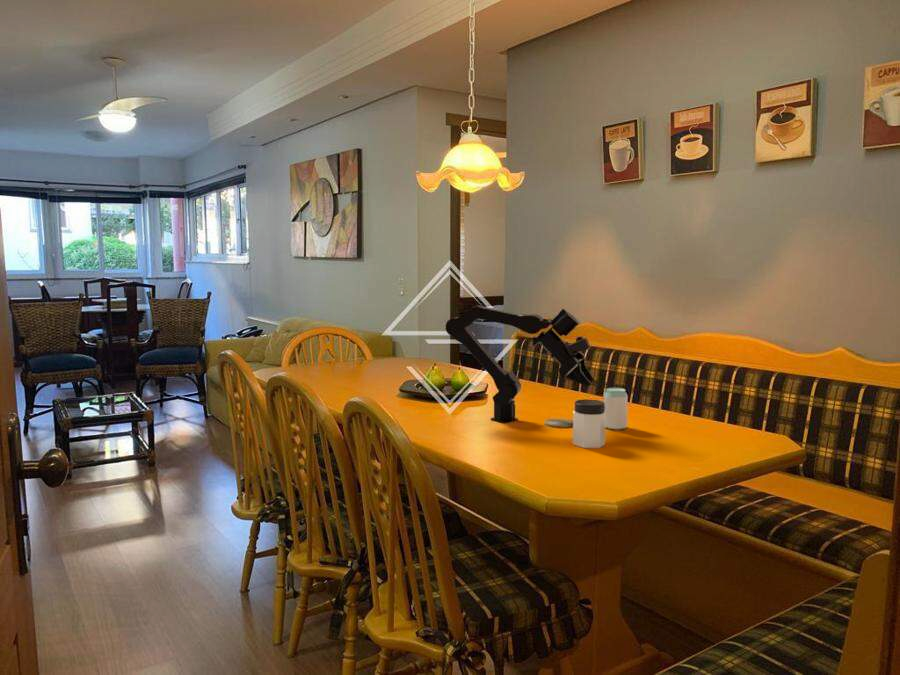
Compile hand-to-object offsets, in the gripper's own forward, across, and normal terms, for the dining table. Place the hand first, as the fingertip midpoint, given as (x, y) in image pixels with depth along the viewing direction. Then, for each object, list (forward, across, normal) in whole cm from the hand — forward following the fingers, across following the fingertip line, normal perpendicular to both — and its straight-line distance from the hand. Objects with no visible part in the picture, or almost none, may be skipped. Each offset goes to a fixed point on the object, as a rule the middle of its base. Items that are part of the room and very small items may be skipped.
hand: (591, 383), depth 208 cm
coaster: (+3, 0, +16) cm, 16 cm away
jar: (+11, -22, +8) cm, 26 cm away
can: (+15, 0, +4) cm, 16 cm away
